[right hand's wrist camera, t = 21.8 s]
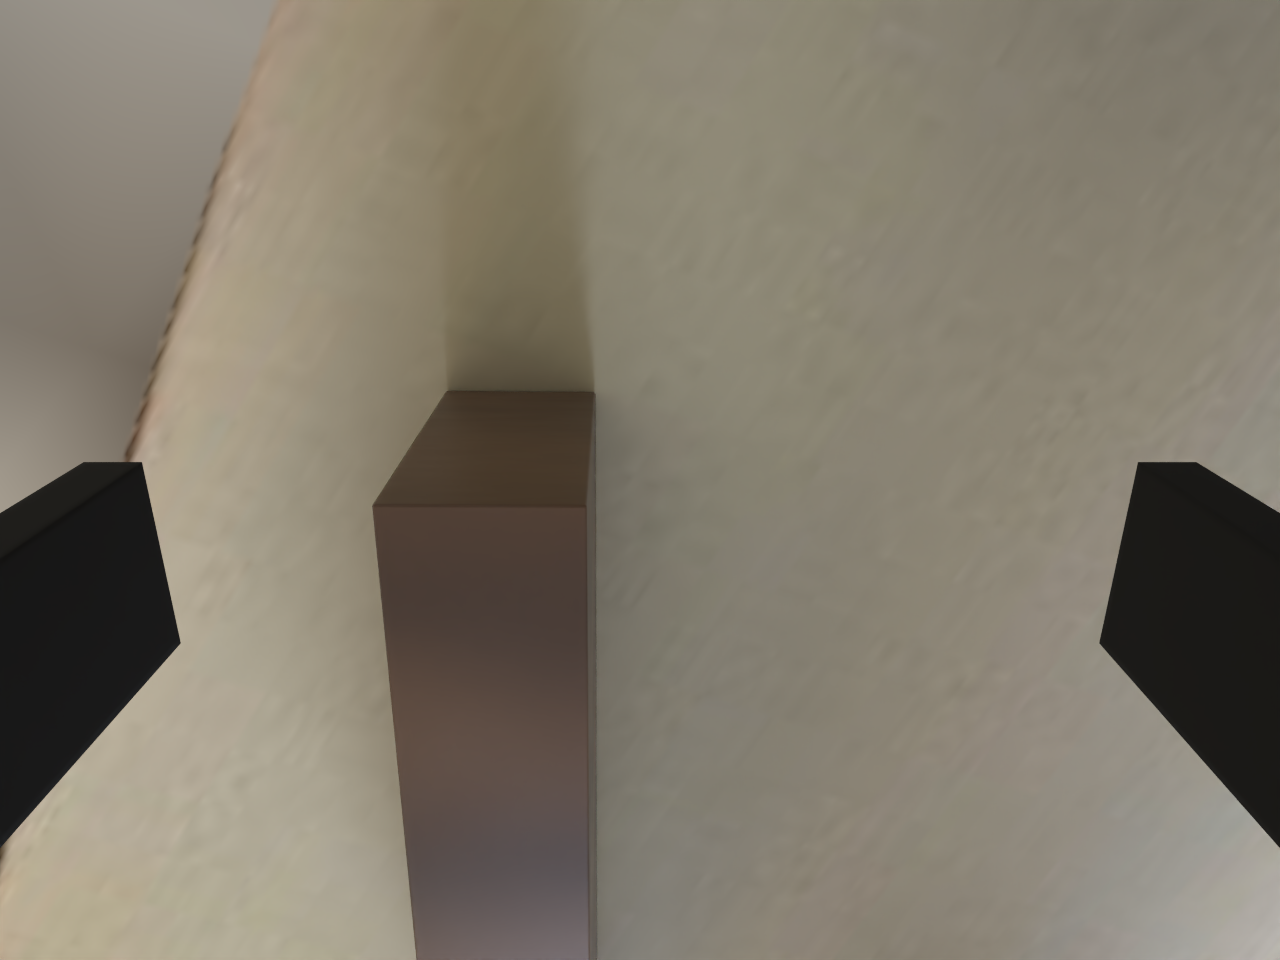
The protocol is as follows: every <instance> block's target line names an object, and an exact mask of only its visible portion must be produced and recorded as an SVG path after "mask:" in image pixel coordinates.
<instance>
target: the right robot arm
mask: <svg viewBox="0 0 1280 960" xmlns="http://www.w3.org/2000/svg"><path fill="white" fill-rule="evenodd" d="M179 644H180V638H179V633H178V629H177V624H176V619H175V615H174V610H173V605H172V601H171V596H170V591H169V587H168V582H167V577H166V573H165V568H164V563H163V559H162V554H161V549H160V545H159V540H158V535H157V531H156V526H155V521H154V517H153V512H152V507H151V503H150V498H149V493H148V489H147V484H146V479H145V475H144V470H143V465H142V462H83V463H82V464H80V465H78V466H77V467H75V468H73V469H72V470H70V471H69V472H67V473H65V474H64V475H62V476H60V477H59V478H57V479H55V480H54V481H52V482H51V483H49V484H47V485H46V486H44V487H42V488H41V489H39V490H37V491H36V492H34V493H33V494H31V495H29V496H28V497H26V498H24V499H23V500H21V501H19V502H18V503H16V504H15V505H13V506H11V507H10V508H8V509H6V510H5V511H3V512H1V513H0V847H1V846H2V845H3V844H4V843H5V842H6V841H7V839H8V838H9V837H10V836H11V835H12V834H13V833H14V832H15V830H16V829H17V828H18V827H19V826H20V825H21V824H22V822H23V821H24V820H25V819H26V818H27V817H28V816H29V815H30V813H31V812H32V811H33V810H34V809H35V808H36V807H37V805H38V804H39V803H40V802H41V801H42V800H43V799H44V798H45V796H46V795H47V794H48V793H49V792H50V791H51V790H52V788H53V787H54V786H55V785H56V784H57V783H58V782H59V781H60V779H61V778H62V777H63V776H64V775H65V774H66V773H67V771H68V770H69V769H70V768H71V767H72V766H73V765H74V764H75V762H76V761H77V760H78V759H79V758H80V757H81V756H82V754H83V753H84V752H85V751H86V750H87V749H88V748H89V747H90V745H91V744H92V743H93V742H94V741H95V740H96V739H97V737H98V736H99V735H100V734H101V733H102V732H103V731H104V730H105V728H106V727H107V726H108V725H109V724H110V723H111V722H112V720H113V719H114V718H115V717H116V716H117V715H118V714H119V713H120V711H121V710H122V709H123V708H124V707H125V706H126V705H127V703H128V702H129V701H130V700H131V699H132V698H133V697H134V695H135V694H136V693H137V692H138V691H139V690H140V689H141V688H142V686H143V685H144V684H145V683H146V682H147V681H148V680H149V678H150V677H151V676H152V675H153V674H154V673H155V672H156V671H157V669H158V668H159V667H160V666H161V665H162V664H163V663H164V661H165V660H166V659H167V658H168V657H169V656H170V655H171V654H172V652H173V651H174V650H175V649H176V648H177V647H178V646H179ZM1100 644H1101V646H1102V647H1103V648H1104V649H1105V650H1106V651H1107V652H1108V654H1109V655H1110V656H1111V657H1112V658H1113V659H1114V660H1115V661H1116V663H1117V664H1118V665H1119V666H1120V667H1121V668H1122V669H1123V671H1124V672H1125V673H1126V674H1127V675H1128V676H1129V677H1130V678H1131V680H1132V681H1133V682H1134V683H1135V684H1136V685H1137V686H1138V688H1139V689H1140V690H1141V691H1142V692H1143V693H1144V694H1145V695H1146V697H1147V698H1148V699H1149V700H1150V701H1151V702H1152V703H1153V705H1154V706H1155V707H1156V708H1157V709H1158V710H1159V711H1160V713H1161V714H1162V715H1163V716H1164V717H1165V718H1166V719H1167V720H1168V722H1169V723H1170V724H1171V725H1172V726H1173V727H1174V728H1175V730H1176V731H1177V732H1178V733H1179V734H1180V735H1181V736H1182V737H1183V739H1184V740H1185V741H1186V742H1187V743H1188V744H1189V745H1190V747H1191V748H1192V749H1193V750H1194V751H1195V752H1196V753H1197V754H1198V756H1199V757H1200V758H1201V759H1202V760H1203V761H1204V762H1205V764H1206V765H1207V766H1208V767H1209V768H1210V769H1211V770H1212V771H1213V773H1214V774H1215V775H1216V776H1217V777H1218V778H1219V779H1220V781H1221V782H1222V783H1223V784H1224V785H1225V786H1226V787H1227V788H1228V790H1229V791H1230V792H1231V793H1232V794H1233V795H1234V796H1235V798H1236V799H1237V800H1238V801H1239V802H1240V803H1241V804H1242V805H1243V807H1244V808H1245V809H1246V810H1247V811H1248V812H1249V813H1250V815H1251V816H1252V817H1253V818H1254V819H1255V820H1256V821H1257V822H1258V824H1259V825H1260V826H1261V827H1262V828H1263V829H1264V830H1265V832H1266V833H1267V834H1268V835H1269V836H1270V837H1271V838H1272V839H1273V841H1274V842H1275V843H1276V844H1277V845H1278V846H1279V847H1280V513H1279V512H1277V511H1275V510H1274V509H1272V508H1270V507H1269V506H1267V505H1265V504H1264V503H1262V502H1261V501H1259V500H1257V499H1256V498H1254V497H1252V496H1251V495H1249V494H1247V493H1246V492H1244V491H1243V490H1241V489H1239V488H1238V487H1236V486H1234V485H1233V484H1231V483H1229V482H1228V481H1226V480H1225V479H1223V478H1221V477H1220V476H1218V475H1216V474H1215V473H1213V472H1211V471H1210V470H1208V469H1207V468H1205V467H1203V466H1202V465H1200V464H1198V463H1197V462H1138V465H1137V470H1136V475H1135V479H1134V484H1133V489H1132V493H1131V498H1130V503H1129V507H1128V512H1127V517H1126V521H1125V526H1124V531H1123V535H1122V540H1121V545H1120V549H1119V554H1118V559H1117V563H1116V568H1115V573H1114V577H1113V582H1112V587H1111V591H1110V596H1109V601H1108V605H1107V610H1106V615H1105V619H1104V624H1103V629H1102V633H1101V638H1100Z"/></svg>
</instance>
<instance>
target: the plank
mask: <svg viewBox="0 0 1280 960" xmlns="http://www.w3.org/2000/svg"><path fill="white" fill-rule="evenodd" d="M372 507H373V517H374V528H375V538H376V548H377V558H378V569H379V579H380V589H381V599H382V610H383V620H384V630H385V640H386V651H387V661H388V671H389V681H390V692H391V702H392V712H393V722H394V733H395V743H396V753H397V763H398V774H399V784H400V794H401V804H402V815H403V825H404V835H405V845H406V856H407V866H408V876H409V886H410V897H411V907H412V917H413V927H414V938H415V948H416V958H417V960H597V777H596V398H595V393H594V392H506V391H447V392H446V393H445V394H444V396H443V398H442V399H441V401H440V402H439V404H438V405H437V407H436V408H435V410H434V411H433V413H432V414H431V416H430V418H429V419H428V421H427V422H426V424H425V425H424V427H423V428H422V430H421V431H420V433H419V434H418V436H417V438H416V439H415V441H414V442H413V444H412V445H411V447H410V448H409V450H408V451H407V453H406V455H405V456H404V458H403V459H402V461H401V462H400V464H399V465H398V467H397V468H396V470H395V471H394V473H393V475H392V476H391V478H390V479H389V481H388V482H387V484H386V485H385V487H384V488H383V490H382V491H381V493H380V495H379V496H378V498H377V499H376V501H375V502H374V504H373V506H372Z"/></svg>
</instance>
